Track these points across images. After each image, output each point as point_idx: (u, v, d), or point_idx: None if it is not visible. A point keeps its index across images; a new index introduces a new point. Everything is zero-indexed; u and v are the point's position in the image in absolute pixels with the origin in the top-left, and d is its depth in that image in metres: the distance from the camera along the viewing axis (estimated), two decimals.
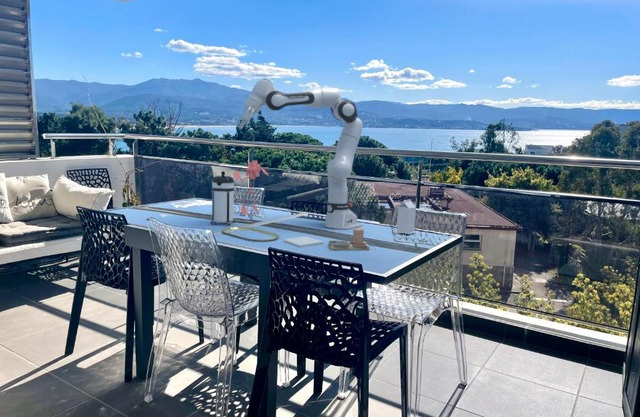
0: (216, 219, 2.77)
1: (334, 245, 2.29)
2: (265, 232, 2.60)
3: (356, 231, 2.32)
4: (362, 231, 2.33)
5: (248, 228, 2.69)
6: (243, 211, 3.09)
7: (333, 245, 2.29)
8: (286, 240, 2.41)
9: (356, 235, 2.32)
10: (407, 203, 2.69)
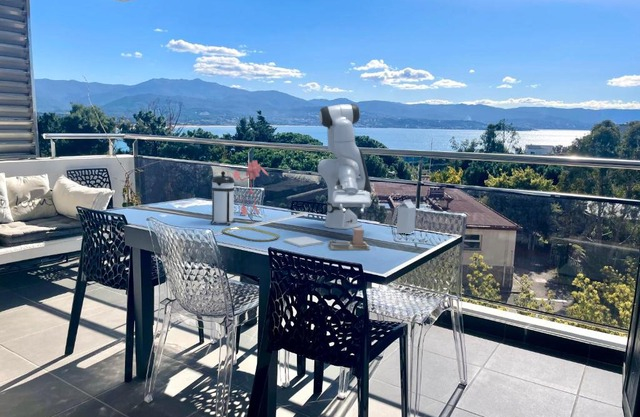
0: (216, 219, 2.77)
1: (334, 245, 2.29)
2: (265, 232, 2.60)
3: (356, 231, 2.32)
4: (362, 231, 2.33)
5: (248, 228, 2.69)
6: (243, 211, 3.09)
7: (333, 245, 2.29)
8: (286, 240, 2.41)
9: (356, 235, 2.32)
10: (407, 203, 2.69)
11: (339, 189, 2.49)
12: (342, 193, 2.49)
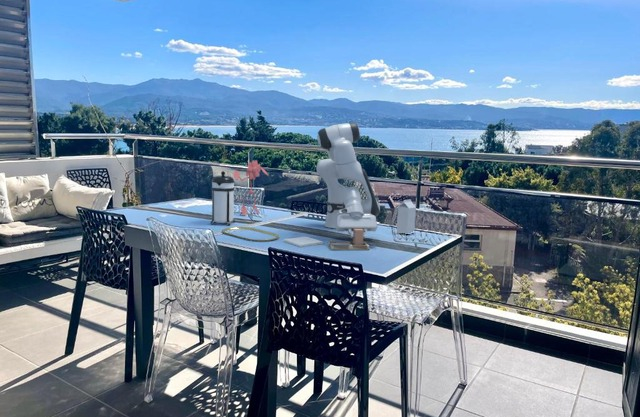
0: (216, 219, 2.77)
1: (334, 245, 2.29)
2: (265, 232, 2.60)
3: (356, 231, 2.32)
4: (362, 231, 2.33)
5: (248, 228, 2.69)
6: (243, 211, 3.09)
7: (333, 245, 2.29)
8: (286, 240, 2.41)
9: (356, 235, 2.32)
10: (407, 203, 2.69)
11: (344, 213, 2.38)
12: (347, 217, 2.38)
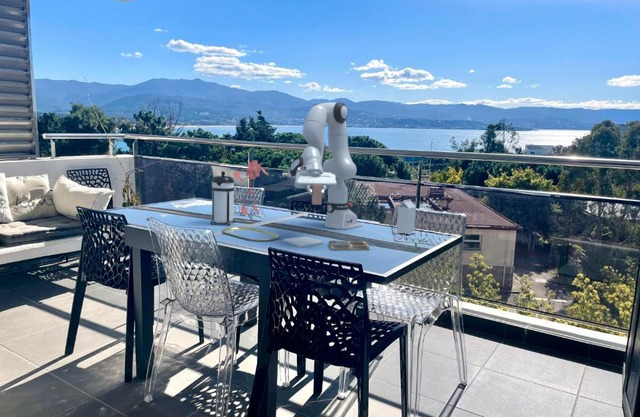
0: (216, 219, 2.77)
1: (334, 245, 2.29)
2: (265, 232, 2.60)
3: (314, 186, 2.31)
4: (320, 186, 2.31)
5: (248, 228, 2.69)
6: (243, 211, 3.09)
7: (333, 245, 2.29)
8: (286, 240, 2.41)
9: (314, 190, 2.31)
10: (407, 203, 2.69)
11: (303, 170, 2.37)
12: (306, 174, 2.37)
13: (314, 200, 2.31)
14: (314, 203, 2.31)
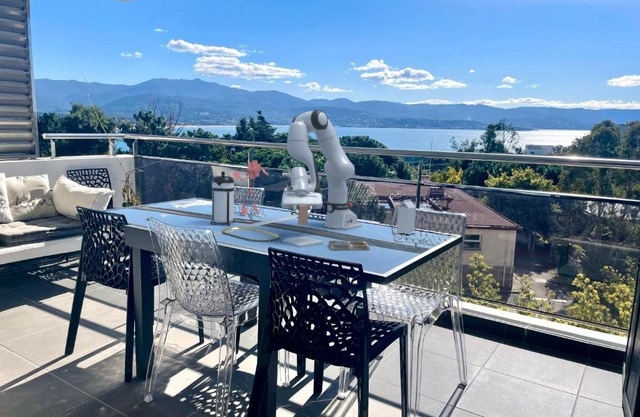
0: (216, 219, 2.77)
1: (334, 245, 2.29)
2: (265, 232, 2.60)
3: (300, 207, 2.35)
4: (306, 207, 2.36)
5: (248, 228, 2.69)
6: (243, 211, 3.09)
7: (333, 245, 2.29)
8: (286, 240, 2.41)
9: (300, 211, 2.36)
10: (407, 203, 2.69)
11: (289, 191, 2.42)
12: (293, 195, 2.42)
13: (300, 220, 2.36)
14: (300, 223, 2.36)
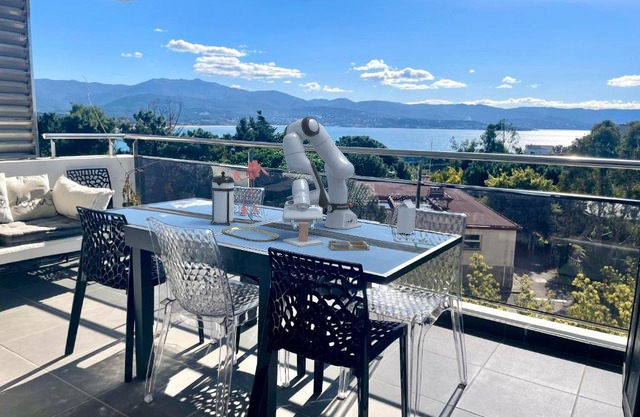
0: (216, 219, 2.77)
1: (334, 245, 2.29)
2: (265, 232, 2.60)
3: (301, 224, 2.38)
4: (307, 224, 2.39)
5: (248, 228, 2.69)
6: (243, 211, 3.09)
7: (333, 245, 2.29)
8: (286, 240, 2.41)
9: (301, 228, 2.39)
10: (407, 203, 2.69)
11: (290, 204, 2.44)
12: (294, 209, 2.44)
13: (300, 237, 2.39)
14: (300, 240, 2.40)
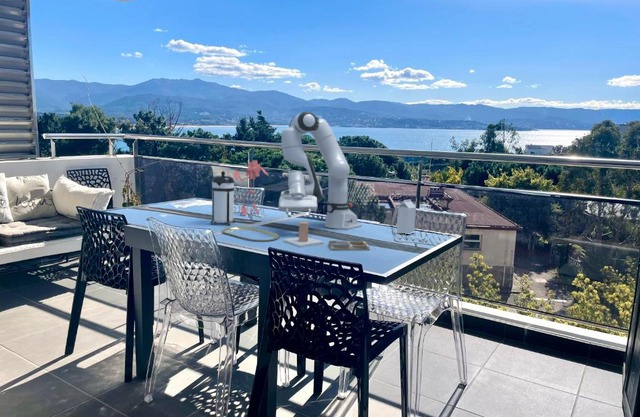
0: (216, 219, 2.77)
1: (334, 245, 2.29)
2: (265, 232, 2.60)
3: (301, 224, 2.38)
4: (307, 224, 2.39)
5: (248, 228, 2.69)
6: (243, 211, 3.09)
7: (333, 245, 2.29)
8: (286, 240, 2.41)
9: (301, 228, 2.39)
10: (407, 203, 2.69)
11: (286, 194, 2.56)
12: (289, 198, 2.56)
13: (300, 237, 2.39)
14: (300, 240, 2.40)
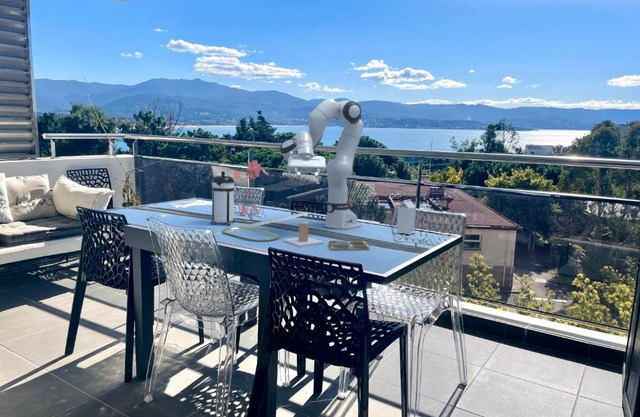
0: (216, 219, 2.77)
1: (334, 245, 2.29)
2: (265, 232, 2.60)
3: (301, 224, 2.38)
4: (307, 224, 2.39)
5: (248, 228, 2.69)
6: (243, 211, 3.09)
7: (333, 245, 2.29)
8: (286, 240, 2.41)
9: (301, 228, 2.39)
10: (407, 203, 2.69)
11: (295, 154, 2.55)
12: (298, 158, 2.55)
13: (300, 237, 2.39)
14: (300, 240, 2.40)
